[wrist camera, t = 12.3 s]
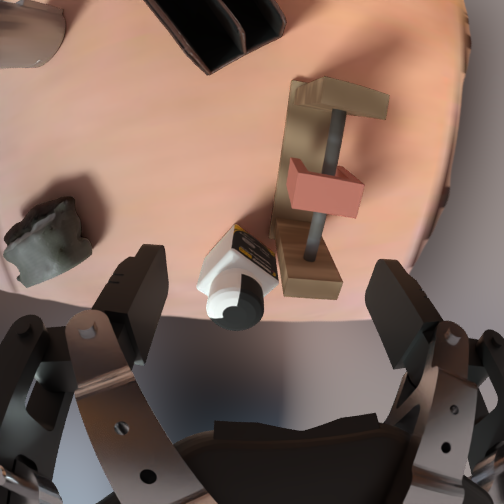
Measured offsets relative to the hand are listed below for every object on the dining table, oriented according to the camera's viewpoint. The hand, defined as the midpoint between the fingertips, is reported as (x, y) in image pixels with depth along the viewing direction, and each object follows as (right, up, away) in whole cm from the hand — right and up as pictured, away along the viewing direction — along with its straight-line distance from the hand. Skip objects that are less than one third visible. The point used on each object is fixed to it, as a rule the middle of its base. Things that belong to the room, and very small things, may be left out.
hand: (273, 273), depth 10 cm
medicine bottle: (-2, 0, +28) cm, 28 cm away
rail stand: (+6, +11, +22) cm, 25 cm away
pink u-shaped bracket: (+6, +9, +17) cm, 20 cm away
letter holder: (-7, +31, +11) cm, 33 cm away
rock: (-33, +4, +26) cm, 43 cm away
